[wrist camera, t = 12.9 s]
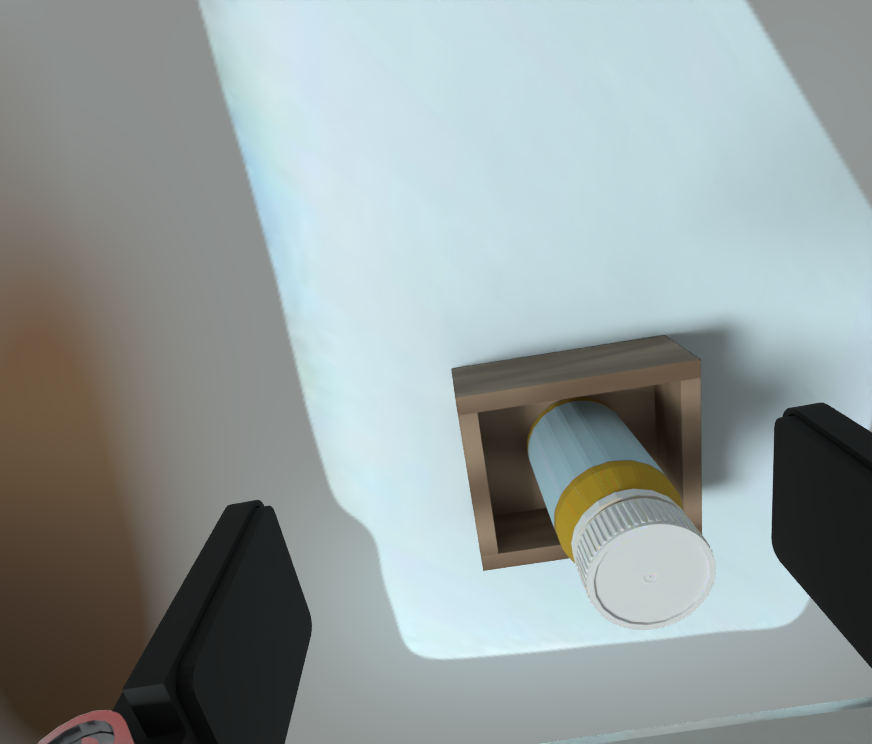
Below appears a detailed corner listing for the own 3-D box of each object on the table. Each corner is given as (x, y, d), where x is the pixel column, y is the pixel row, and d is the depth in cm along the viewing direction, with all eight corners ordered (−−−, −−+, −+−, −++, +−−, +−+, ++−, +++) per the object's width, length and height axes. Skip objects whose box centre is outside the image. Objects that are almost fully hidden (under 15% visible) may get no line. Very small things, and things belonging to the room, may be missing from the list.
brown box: (451, 368, 40) (455, 397, 35) (664, 335, 40) (700, 359, 35) (476, 524, 45) (483, 570, 39) (669, 495, 44) (701, 539, 39)
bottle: (636, 407, 40) (750, 533, 26) (602, 490, 43) (690, 649, 28) (543, 383, 40) (608, 500, 26) (513, 470, 42) (557, 622, 28)
